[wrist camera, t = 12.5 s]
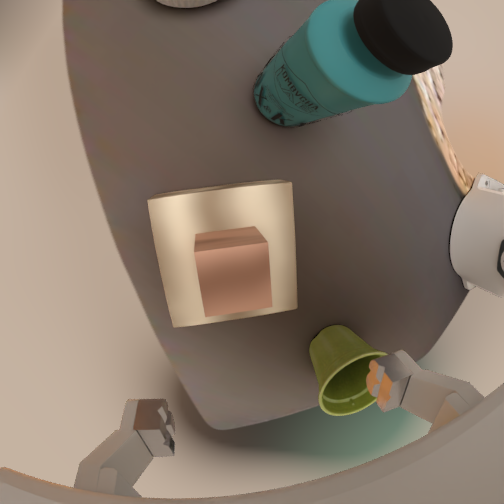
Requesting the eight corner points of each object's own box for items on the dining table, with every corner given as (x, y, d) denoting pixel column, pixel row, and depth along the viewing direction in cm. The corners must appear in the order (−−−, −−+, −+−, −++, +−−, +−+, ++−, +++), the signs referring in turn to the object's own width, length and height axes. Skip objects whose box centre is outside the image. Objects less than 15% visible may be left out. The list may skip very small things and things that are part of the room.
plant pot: (297, 379, 36) (319, 425, 28) (292, 323, 33) (319, 370, 25) (359, 359, 37) (389, 398, 29) (362, 304, 34) (401, 340, 26)
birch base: (279, 179, 27) (291, 182, 24) (286, 291, 31) (297, 308, 27) (155, 194, 26) (147, 200, 22) (176, 307, 30) (173, 327, 26)
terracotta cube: (259, 280, 26) (272, 306, 21) (203, 288, 25) (205, 317, 20) (254, 226, 24) (268, 242, 20) (195, 233, 24) (194, 252, 19)
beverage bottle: (271, 57, 23) (381, -63, 5) (325, 95, 25) (484, 40, 7) (235, 106, 24) (312, -4, 6) (292, 144, 26) (453, 130, 8)
